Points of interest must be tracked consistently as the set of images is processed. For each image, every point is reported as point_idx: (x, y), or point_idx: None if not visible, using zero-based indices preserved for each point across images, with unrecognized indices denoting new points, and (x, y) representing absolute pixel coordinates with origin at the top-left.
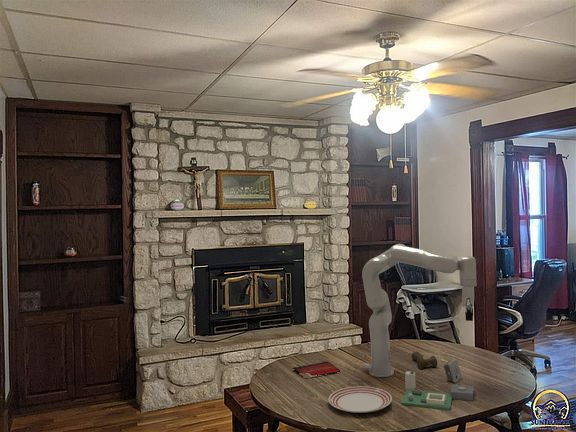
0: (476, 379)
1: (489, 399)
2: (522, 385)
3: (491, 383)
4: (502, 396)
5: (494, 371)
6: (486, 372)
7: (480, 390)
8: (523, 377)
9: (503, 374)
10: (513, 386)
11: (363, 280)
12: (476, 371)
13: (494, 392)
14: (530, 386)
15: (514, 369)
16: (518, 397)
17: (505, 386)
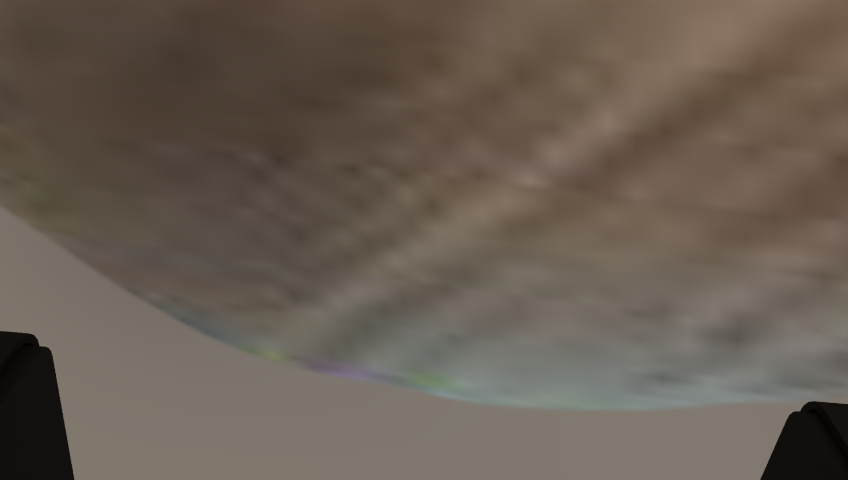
0: (504, 20)
1: (13, 81)
2: (403, 344)
3: (411, 140)
4: (122, 185)
5: (737, 200)
6: (712, 131)
7: (207, 28)
8: (584, 375)
9: (654, 257)
10: (369, 287)
11: None
12: (747, 41)
13: (193, 138)
14: (391, 385)
15: (779, 348)
16: (141, 285)
17: (357, 234)
